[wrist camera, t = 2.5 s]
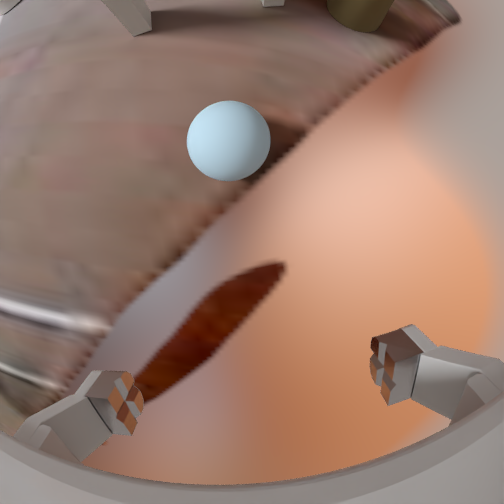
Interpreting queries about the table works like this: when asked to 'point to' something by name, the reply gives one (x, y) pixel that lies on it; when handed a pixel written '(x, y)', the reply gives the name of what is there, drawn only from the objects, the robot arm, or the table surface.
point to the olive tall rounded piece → (359, 13)
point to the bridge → (146, 13)
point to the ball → (228, 140)
